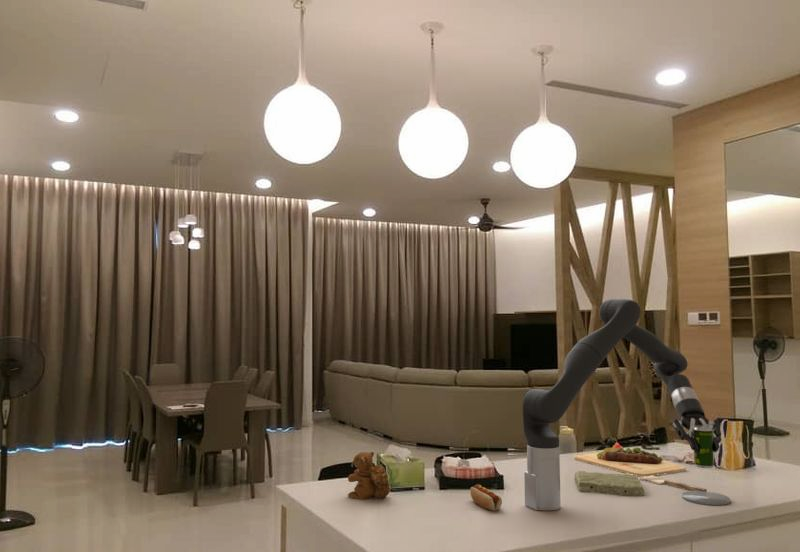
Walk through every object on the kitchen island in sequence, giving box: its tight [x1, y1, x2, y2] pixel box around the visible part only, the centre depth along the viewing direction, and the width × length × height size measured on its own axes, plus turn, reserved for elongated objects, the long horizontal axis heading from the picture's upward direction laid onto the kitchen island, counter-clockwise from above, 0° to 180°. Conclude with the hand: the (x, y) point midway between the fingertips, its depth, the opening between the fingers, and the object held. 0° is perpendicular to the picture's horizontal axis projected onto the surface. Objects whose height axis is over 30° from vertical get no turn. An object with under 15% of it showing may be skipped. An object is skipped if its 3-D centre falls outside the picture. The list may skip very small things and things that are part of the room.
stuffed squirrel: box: [347, 451, 392, 500], centre depth 193 cm, size 10×14×13 cm
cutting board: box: [573, 442, 687, 477], centre depth 238 cm, size 35×23×8 cm
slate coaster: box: [681, 490, 731, 506], centre depth 190 cm, size 13×13×1 cm
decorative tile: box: [574, 470, 645, 496], centre depth 204 cm, size 19×20×4 cm
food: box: [470, 484, 503, 512], centre depth 183 cm, size 14×6×5 cm, turn 19°
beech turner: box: [639, 476, 708, 492], centre depth 206 cm, size 22×6×1 cm, turn 30°
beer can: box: [693, 425, 715, 469], centre depth 191 cm, size 5×5×12 cm
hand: (706, 450), depth 189 cm, fingers closed on beer can, 5 cm apart
